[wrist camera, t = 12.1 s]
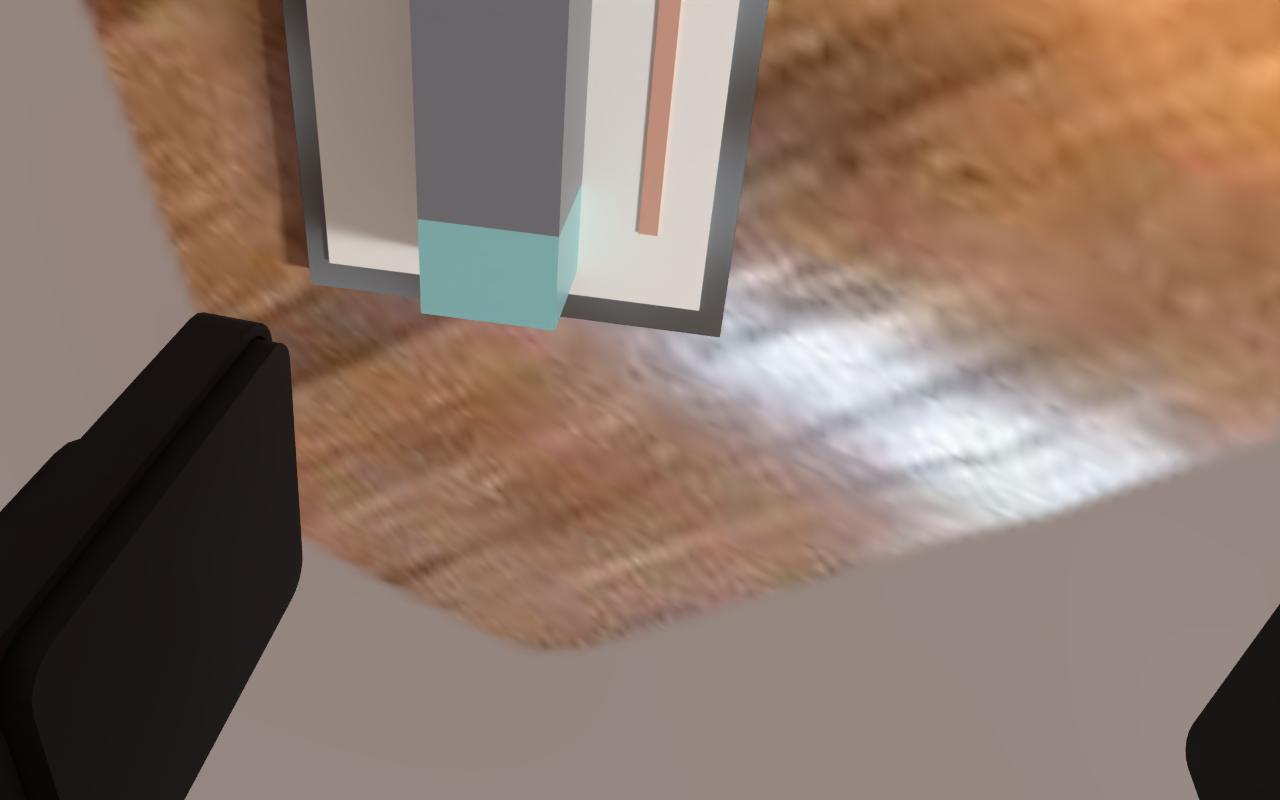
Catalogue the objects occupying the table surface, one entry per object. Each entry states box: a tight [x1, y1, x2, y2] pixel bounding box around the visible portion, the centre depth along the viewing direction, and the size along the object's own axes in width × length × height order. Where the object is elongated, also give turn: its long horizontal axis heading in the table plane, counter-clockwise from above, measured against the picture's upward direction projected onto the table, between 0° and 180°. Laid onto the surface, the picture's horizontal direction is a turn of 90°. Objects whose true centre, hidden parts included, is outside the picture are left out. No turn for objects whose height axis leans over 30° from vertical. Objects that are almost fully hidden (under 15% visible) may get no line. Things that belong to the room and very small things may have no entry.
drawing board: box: [282, 0, 769, 337], centre depth 31 cm, size 17×14×1 cm
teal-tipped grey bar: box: [409, 0, 592, 331], centre depth 29 cm, size 14×4×4 cm, turn 175°
